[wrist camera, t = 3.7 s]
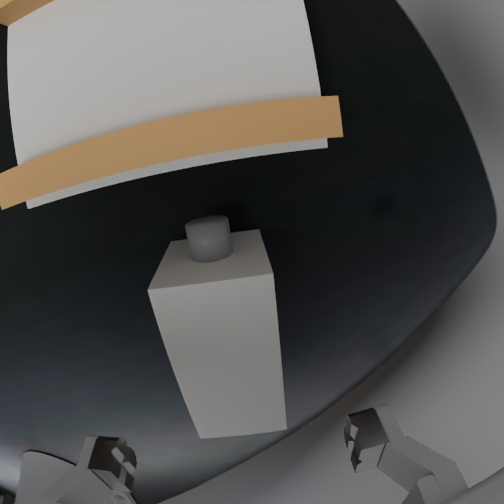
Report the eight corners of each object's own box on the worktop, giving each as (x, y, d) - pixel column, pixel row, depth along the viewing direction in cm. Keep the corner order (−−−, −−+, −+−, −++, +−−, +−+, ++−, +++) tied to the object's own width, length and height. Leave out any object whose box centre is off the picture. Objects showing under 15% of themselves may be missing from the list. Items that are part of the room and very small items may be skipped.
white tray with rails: (305, 144, 16) (344, 150, 10) (64, 192, 16) (4, 220, 10) (271, -43, 12) (289, -100, 6) (44, 15, 11) (-10, -12, 6)
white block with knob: (273, 364, 21) (286, 429, 16) (204, 372, 21) (200, 438, 16) (255, 200, 17) (269, 234, 12) (165, 213, 17) (137, 252, 11)
